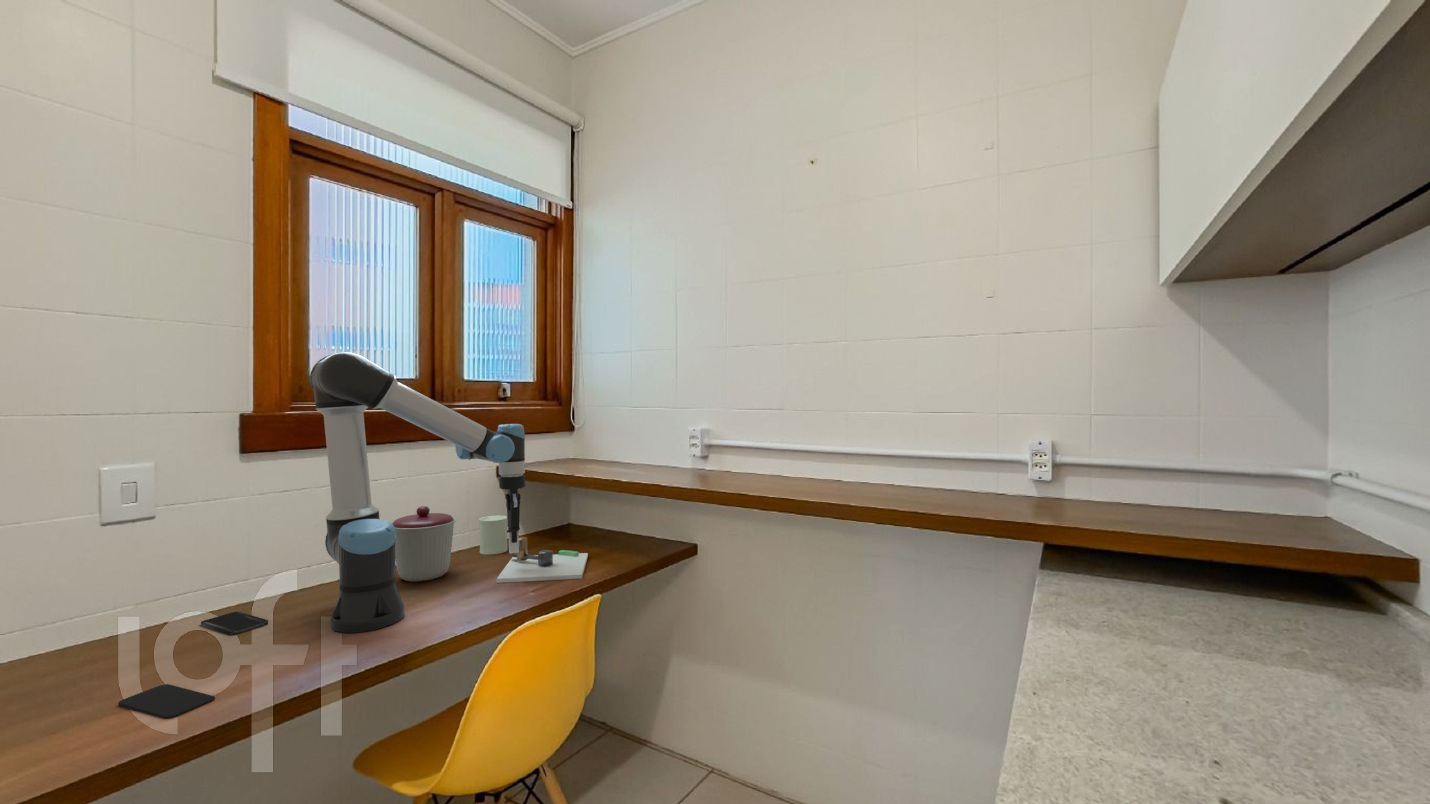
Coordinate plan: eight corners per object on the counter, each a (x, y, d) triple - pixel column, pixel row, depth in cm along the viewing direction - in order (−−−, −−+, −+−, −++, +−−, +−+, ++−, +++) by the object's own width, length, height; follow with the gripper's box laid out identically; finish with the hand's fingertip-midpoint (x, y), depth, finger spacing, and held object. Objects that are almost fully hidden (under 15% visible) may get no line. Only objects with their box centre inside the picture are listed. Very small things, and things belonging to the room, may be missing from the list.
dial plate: (496, 582, 170) (496, 574, 170) (513, 559, 195) (513, 552, 195) (581, 578, 174) (581, 570, 174) (588, 556, 198) (587, 548, 198)
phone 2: (231, 632, 134) (198, 621, 141) (231, 637, 134) (198, 626, 141) (270, 620, 141) (237, 610, 148) (270, 625, 141) (237, 615, 148)
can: (478, 549, 208) (478, 515, 208) (506, 546, 212) (505, 513, 212) (480, 555, 200) (479, 520, 199) (509, 552, 204) (508, 517, 203)
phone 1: (168, 718, 99) (114, 702, 104) (168, 723, 99) (114, 707, 104) (218, 696, 106) (165, 683, 111) (218, 701, 106) (165, 687, 111)
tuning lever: (555, 562, 185) (555, 539, 185) (546, 566, 181) (546, 542, 181) (519, 558, 190) (519, 535, 190) (509, 562, 186) (509, 538, 186)
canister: (382, 576, 178) (381, 506, 178) (446, 564, 190) (445, 498, 190) (398, 590, 164) (397, 515, 164) (465, 577, 176) (464, 506, 176)
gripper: (528, 476, 175) (530, 556, 176) (522, 471, 187) (523, 546, 187) (501, 478, 172) (503, 559, 172) (496, 473, 184) (498, 549, 184)
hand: (514, 552), depth 180 cm, fingers closed
